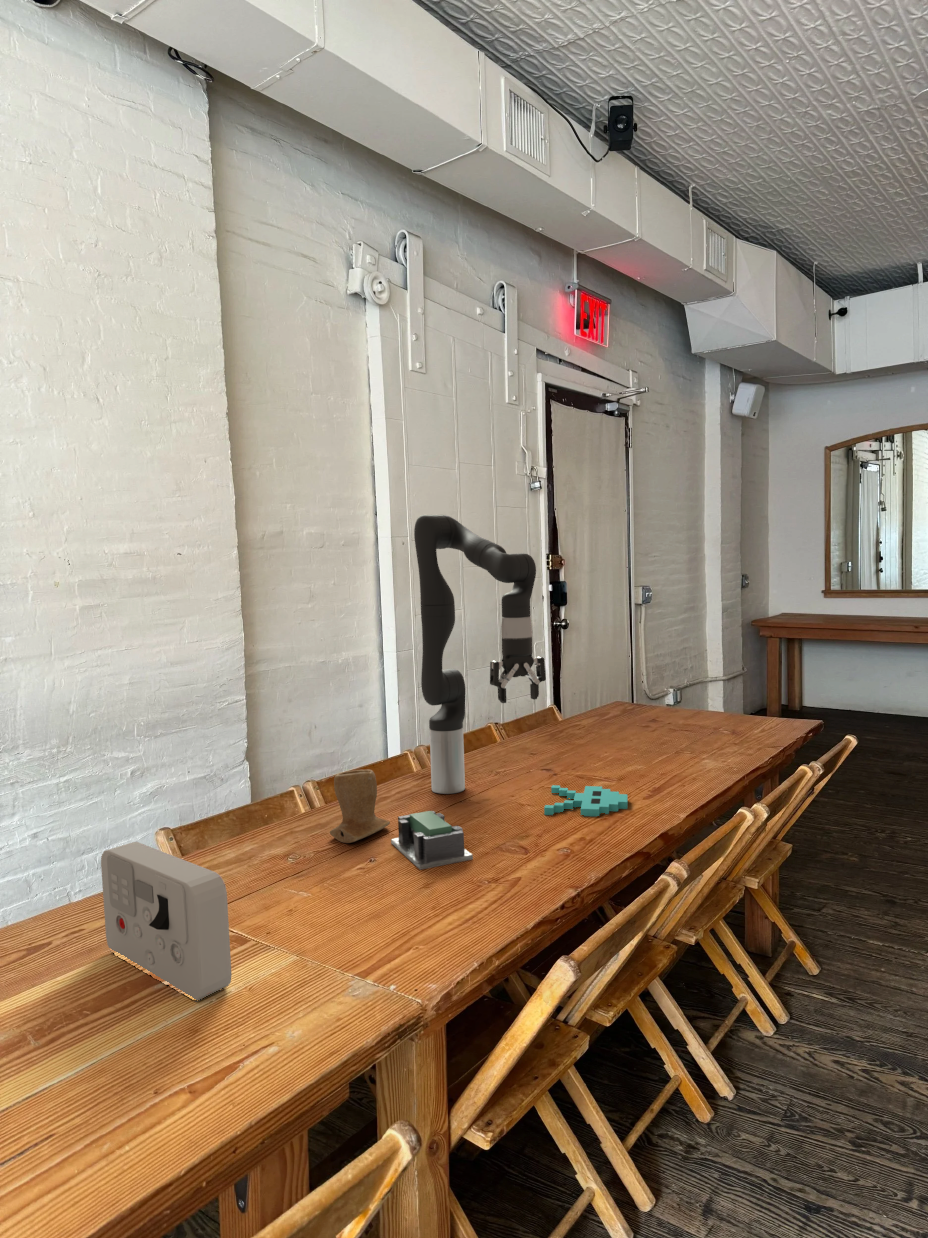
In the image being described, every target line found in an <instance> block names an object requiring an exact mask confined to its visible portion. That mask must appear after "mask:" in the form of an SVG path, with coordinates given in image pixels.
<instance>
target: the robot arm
mask: <svg viewBox="0 0 928 1238" xmlns="http://www.w3.org/2000/svg"><path fill="white" fill-rule="evenodd" d="M413 532H414V534H413V535H414V537H413V538H414V545H415V547H414V548H415V551H416V559H417V566H418V576H419V592H420V621H421V634H422V636H421V637H422V657H421V658H422V661H421V662H422V663H421V676H420V677H421V680H420V682H421V684H420V685H421V693H422V697H423V699H424V701H425V702H426V703H427V704H428V705H430V706H440V705H441V707H440V708H439V709H438V711H437V712H436V713H435V714H433V715H432V716H431V717H430V718H429V721H428V724H429V726H428V727H429V729H428V730H429V748H430V751H429V752H430V753H429V754H430V778H431V779H430V782H431V791H432V792H433V793H436V794H444V795H445V794H446V795H449V794H452V795H453V794H457V793H458V794H459V793H462V792H463V791H464V790H466V783H465V782H466V781H465V780H466V778H465V777H466V776H465V772H466V771H465V746H464V743H465V741H464V720H465V717H466V683H465V678H464V676H463V674H462V673H461V672H460V671H459V670H458V669H456V668H447V669H443V656H444V652H445V651H444V650H445V648H446V646H447V643H448V642H449V639H450V636H451V634H452V632H453V629H454V627H455V624H456V607H455V606H456V605H455V597H454V594H453V591H452V589H451V587H450V586H449V584H448V582H447V581H446V579H445V577H444V576H443V574H442V572H441V569H440V567H439V562H438V554H437V550H443V549H444V550H445V549H453V550H458V551H461V552H463V555H464V556H465V558H466V559H467V560H468V561H469V562H470V563H472V564H473V565H475V566H477V567H479V568H481V569H483V570H485V571H487V573H489V574H490V575H491V576H492V577H493V578H494V579H495V580H496V581H498V582H500V583H505V584H511V583H512V589H511V591H509V592H506V593H505V594H503V595H502V597H501V626H500V627H501V628H500V630H501V631H500V632H501V655H502V659H501V660H500V661H496V660H491V661H490V663H489V664H490V666H489V667H490V668H489V684H490V685H491V686H494V687H497V699H498V701H499V702H500V703H501V704H507V687H506V686H507V684H508V683H509V682H510V681H511V680H512V678H519V677H526V678H527V679H528V680H529V682H530V684H529V686H530V687H529V688H530V699H532V700H535V701H536V700H537V699H538V697H539V695H540V690H539V689H540V688H539V687H540V685H539V684H540V683H541V682H545V681H547V680H546V677H547V676H546V664H545V663H546V662H545V657H541V656H535V657H534V658H533V653H534V652H533V650H534V649H533V625H532V624H533V623H532V617H531V614H532V613H531V599H532V594H533V589H534V585H535V580H536V577H537V575H536V574H537V566H536V562H535V560H534V558H533V557H532V556H531V555H530V554H528V553H525V552H523V553H522V552H521V553H507V552H506V549H505V548H504V547H502V546H501V545H499V544H497V543H495V542H493V541H490V540H489V539H487V538H484V537H482V536H481V535H480V536H479V535H477V534H476V533H474V532H472V531H471V530H470V529H469V528H467V527H466V526H464V525H463V524H462V523H461V522H460V521H458V520H457V519H456V518H453V517H452V516H450V515H447V514H422V515H420V516H419V517H417V519H416V521H415V524H414V529H413ZM533 665H534V666H535V671H536V674H535V672H534V671H533V669H532V667H533ZM501 667H502V668H503V671H502V672H501V674H500V670H501Z"/></svg>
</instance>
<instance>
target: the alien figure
mask: <svg viewBox="0 0 928 1238" xmlns="http://www.w3.org/2000/svg"><path fill="white" fill-rule="evenodd" d="M550 789H551V792H550V793H559V794H558V797H559V796H567V797H566V799H564V801H563V802H554V804H553V805H552V804H551V805H550V804H545V805H544V808H543V809H544V810H543V811H544V812H543V813H544V814H543V815H544V816H554V815H553V814H555V813H560V812H563V811H564V812H565V810H564V809H573V810H574V808H576V807H581V808H580V816H581V815H584V816H583V817H597V816H599V817H600V814H601V813H605V814H604V815H609V814H610V812H619V810H628V794H625V793H620V791H614V790H613V791H611V788H603V786H602V785H601V786H600V785H599V786H595V785H594V786H593V785H592V786H591V785H585V787H584V791H583V792H577V790H569V788H568V787H561V785H556V784H555V785H554V784H553V785H551V787H550ZM568 798H570V799H568ZM571 799H574V800H571ZM573 807H574V808H573ZM564 812H563V813H564ZM601 815H602V814H601Z"/></svg>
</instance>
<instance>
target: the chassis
mask: <svg viewBox="0 0 928 1238" xmlns="http://www.w3.org/2000/svg"><path fill="white" fill-rule="evenodd" d="M430 811H431V812H433V813H434V814H436V815H437V816H438V817H440V818H441V819H443V820H444V821H445V822H446V820H445V819H446V818H445V815H444V814H443V813H441V812H439V813H436V811H434V810H430ZM397 825H398V826H397V827H398V837H393V838H391V839H390V841H391V842H390V843H391V845H392V846H394V847H395V849H397V850H398V851H399V852H400V853H401V854H402V855H404V857H405V858H407V859H408V860H409V861H410V862H411V863H412V864H413V865H414V866H416V868H417V869H419V870H426V869H431V868H435V867H443V866H445V865H446V866H447V865H451V864H457V863H461V862H467V861H472V860H473V858H474V857H473V856H474V855H473V853H471V852H469V851H468V850H467V849H466V848H465V833H464V831H463V828H462V827H461V826H459V825H453V826H452V825H451V826H452V832H449V833H443V834H438V835H432V836H427V837H425V835H424V834H423V833H422V832H418V833H416V832H415V831H414V830H413V829H412V828H410V814H406V815H399V816H397Z"/></svg>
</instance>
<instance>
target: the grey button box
mask: <svg viewBox="0 0 928 1238" xmlns="http://www.w3.org/2000/svg"><path fill="white" fill-rule="evenodd" d="M100 870H101V883H102V884H101V886H102V897H103V912H104V924H105V925H104V928H105V939H106V943H107V947H108V949H109V948H111V949H112V950H114V951H116V952H118V953H120V954H121V955H124V956H125V957H127V958H128V959H130V960H131V961H133V962H135V963H137V964H138V965H140V966H142V967H143V968H145V969H147V970H148V971H150V972H152V973H153V974H155V975H156V976H158V977H160V978H161V979H163V980H165V981H167V982H169V983H170V984H172V985H173V986H175V987H176V988H178V989H180V990H182V991H183V992H185V993H186V994H188V995H190V996H192V997H193V998H194V999H196V1000H199V1001H201V1000H203V999H202V998H204V997H206V996H208V995H210V994H212V993H214V992H216V991H218V990H220V989H222V988H224V987H226V986H227V987H229V985H230V984H231V983H232V975H233V974H232V962H231V961H232V958H231V943H230V942H231V941H230V925H229V907H228V892H227V887H226V883H225V881H224V879H223V877H222V876H221V875H220V874H219V873H218V872H216V871H215V870H212V869H208V868H205V867H203V866H201V865H199V864H196V863H194V862H193V863H192V862H190V861H187V860H186V859H183V858H181V857H178V856H174V855H172V854H170V853H167V852H164V851H162V850H159V849H156V848H154V847H152V846H149V845H146V844H143V843H141V842H138V841H133V842H129V843H126V844H122V845H119V846H115V847H112V848H110V849H106V850H104V851H103V853H102V854H101V859H100ZM227 987H226V988H227ZM224 989H225V988H224ZM222 990H223V989H222ZM220 991H221V990H220ZM218 992H219V991H218ZM216 993H217V992H216ZM214 994H215V993H214ZM212 995H213V994H212ZM210 996H211V995H210ZM208 997H209V996H208ZM206 998H207V997H206ZM200 999H201V1000H200ZM204 999H205V998H204Z"/></svg>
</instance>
